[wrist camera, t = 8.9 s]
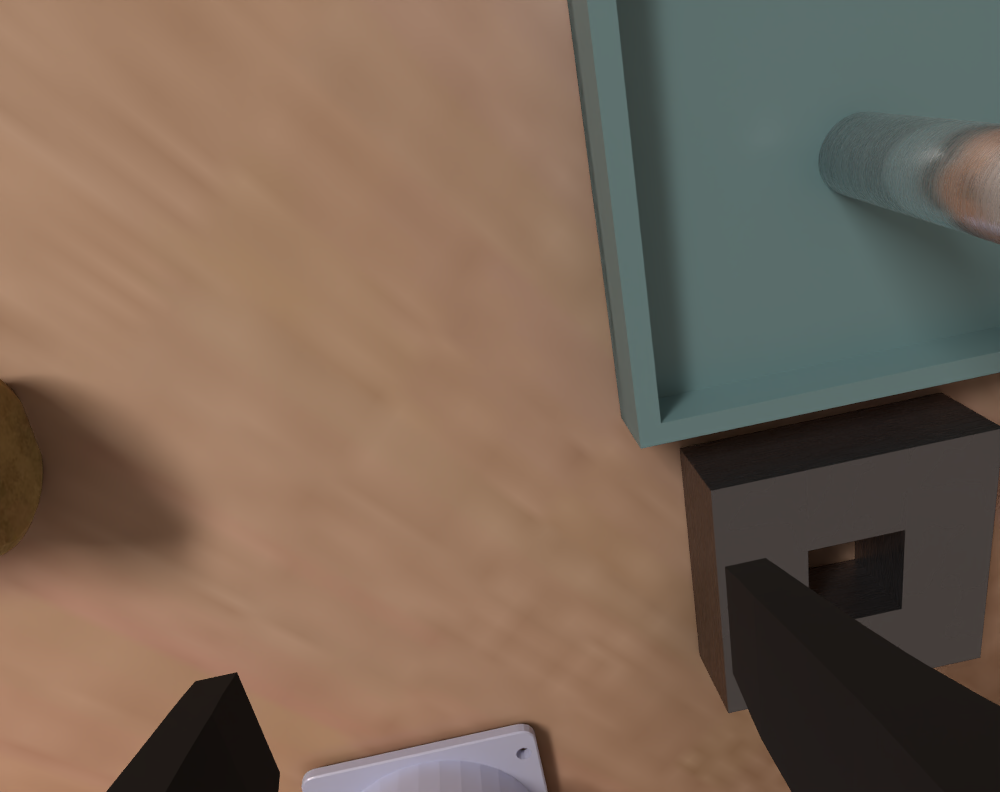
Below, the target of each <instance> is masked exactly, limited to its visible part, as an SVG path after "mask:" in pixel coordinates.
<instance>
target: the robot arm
mask: <svg viewBox="0 0 1000 792" xmlns="http://www.w3.org/2000/svg"><path fill="white" fill-rule="evenodd" d="M725 576H726V589H727V603H728V616H729V630H730V643H731V657H732V670H733V675H734V677H735V680H736V682H737V684H738V687H739V689H740V691H741V694H742V696H743V698H744V701H745V703H746V705H747V708H748V710H749V712H750V714H751V717H752V719H753V721H754V723H755V726H756V728H757V730H758V732H759V734H760V737H761V739H762V741H763V743H764V744H765V746H766V748H767V750H768V751H769V753H770V755H771V757H772V759H773V760H774V762H775V764H776V765H777V767H778V769H779V771H780V772H781V774H782V776H783V778H784V779H785V781H786V783H787V785H788V786H789V788H790V790H791V792H1000V706H999V705H997V704H995V703H993V702H991V701H989V700H988V699H986V698H984V697H982V696H980V695H978V694H977V693H975V692H973V691H971V690H969V689H968V688H966V687H964V686H963V685H961V684H959V683H957V682H956V681H954V680H952V679H950V678H949V677H947V676H945V675H943V674H942V673H940V672H938V671H937V670H935V669H933V668H931V667H930V666H928V665H926V664H924V663H923V662H921V661H920V660H918V659H916V658H915V657H913V656H911V655H910V654H908V653H906V652H905V651H903V650H902V649H900V648H899V647H897V646H895V645H894V644H892V643H891V642H889V641H888V640H886V639H885V638H883V637H881V636H880V635H878V634H877V633H875V632H874V631H872V630H871V629H869V628H867V627H866V626H864V625H863V624H861V623H860V622H858V621H857V620H855V619H854V618H852V617H851V616H849V615H848V614H846V613H845V612H843V611H842V610H841V609H839V608H838V607H836V606H835V605H833V604H832V603H830V602H829V601H827V600H826V599H824V598H823V597H822V596H820V595H819V594H817V593H816V592H814V591H813V590H811V589H810V588H809V587H807V586H806V585H804V584H803V583H801V582H800V581H799V580H797V579H796V578H794V577H793V576H791V575H790V574H788V573H787V572H786V571H784V570H783V569H781V568H780V567H778V566H777V565H775V564H774V563H772V562H771V561H769V560H768V559H767V558H763V559H758V560H753V561H749V562H744V563H740V564H735V565H730V566H726V567H725ZM522 748H526V749H524V750H519V749H522ZM279 777H280V772H279V770H278V767H277V765H276V763H275V760H274V758H273V756H272V753H271V751H270V749H269V746H268V744H267V742H266V739H265V737H264V734H263V732H262V730H261V727H260V725H259V723H258V720H257V718H256V716H255V713H254V711H253V709H252V706H251V704H250V702H249V699H248V697H247V695H246V692H245V690H244V688H243V685H242V683H241V681H240V678H239V676H238V674H237V672H236V673H232V674H227V675H222V676H218V677H213V678H209V679H204V680H199V681H195V682H194V683H193V685H192V686H191V687H190V688H189V689H188V691H187V692H186V693H185V694H184V695H183V696H182V698H181V699H180V700H179V701H178V703H177V704H176V705H175V706H174V708H173V709H172V710H171V711H170V713H169V714H168V715H167V716H166V718H165V719H164V720H163V721H162V723H161V724H160V725H159V726H158V728H157V729H156V730H155V732H154V733H153V734H152V735H151V737H150V738H149V739H148V740H147V742H146V743H145V744H144V745H143V747H142V748H141V749H140V751H139V752H138V753H137V754H136V756H135V757H134V758H133V759H132V761H131V762H130V763H129V764H128V766H127V767H126V768H125V769H124V770H123V772H122V773H121V774H120V775H119V777H118V778H117V779H116V780H115V782H114V783H113V784H112V785H111V787H110V788H109V789H108V790H107V792H278V789H279ZM302 791H303V792H548V790H547V785H546V781H545V777H544V772H543V768H542V763H541V759H540V754H539V750H538V745H537V741H536V736H535V732H534V730H533V728H532V727H531V726H529V725H526V724H516V725H511V726H507V727H502V728H498V729H493V730H488V731H484V732H479V733H475V734H470V735H466V736H461V737H457V738H452V739H448V740H443V741H438V742H434V743H429V744H425V745H420V746H416V747H411V748H407V749H402V750H398V751H393V752H388V753H384V754H379V755H375V756H370V757H366V758H361V759H357V760H352V761H348V762H343V763H338V764H334V765H329V766H325V767H320V768H316V769H313V770H310V771H308V772H307V773H306V774H305V775H304V777H303V781H302Z"/></svg>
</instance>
